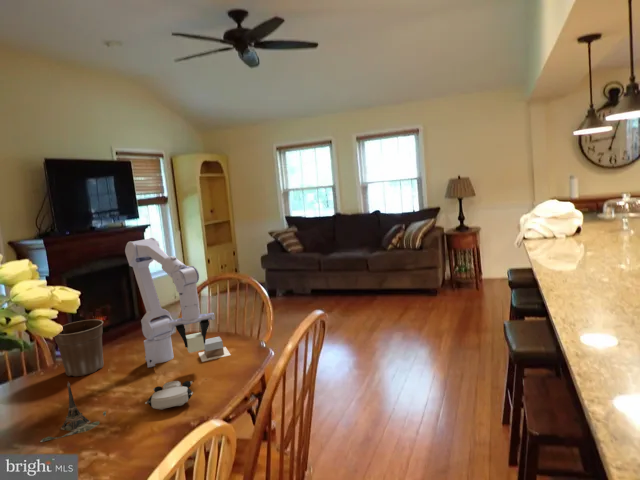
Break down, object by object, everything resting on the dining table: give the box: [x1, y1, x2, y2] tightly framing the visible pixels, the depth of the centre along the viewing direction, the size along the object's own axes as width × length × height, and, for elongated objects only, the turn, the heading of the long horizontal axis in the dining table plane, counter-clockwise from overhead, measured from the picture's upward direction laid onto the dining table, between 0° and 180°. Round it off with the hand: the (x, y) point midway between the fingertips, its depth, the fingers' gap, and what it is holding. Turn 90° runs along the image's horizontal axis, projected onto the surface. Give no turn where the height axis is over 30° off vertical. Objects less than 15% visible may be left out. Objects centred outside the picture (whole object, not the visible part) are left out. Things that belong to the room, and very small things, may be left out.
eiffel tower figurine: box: [40, 382, 107, 443], centre depth 123 cm, size 15×10×13 cm
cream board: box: [198, 346, 232, 363], centre depth 166 cm, size 10×10×1 cm
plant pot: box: [54, 319, 105, 377], centre depth 164 cm, size 16×16×16 cm
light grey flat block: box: [204, 336, 224, 352], centre depth 166 cm, size 6×6×2 cm
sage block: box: [186, 331, 205, 354], centre depth 152 cm, size 5×5×4 cm
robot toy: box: [144, 380, 194, 411], centre depth 133 cm, size 12×4×15 cm
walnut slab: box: [203, 348, 224, 358], centre depth 166 cm, size 6×6×2 cm
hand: (195, 344), depth 152 cm, fingers closed on sage block, 5 cm apart
